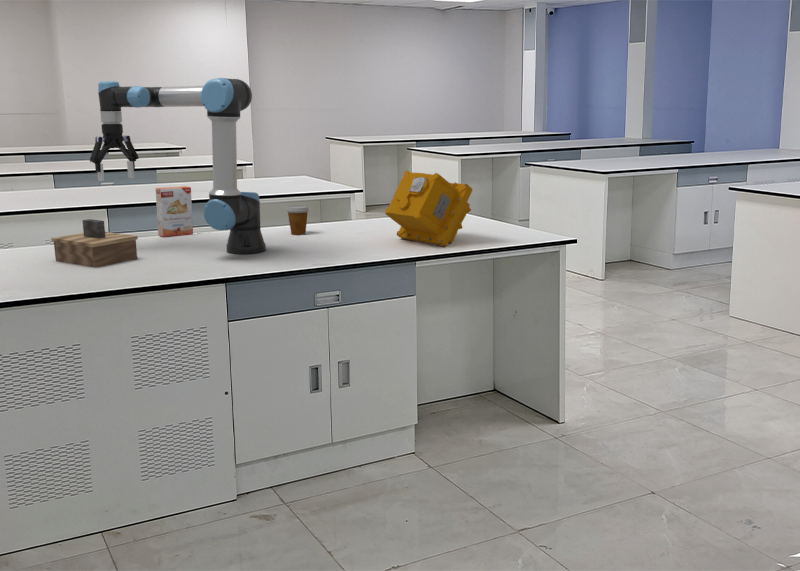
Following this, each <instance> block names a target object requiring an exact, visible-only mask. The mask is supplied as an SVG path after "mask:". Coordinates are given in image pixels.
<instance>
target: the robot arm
mask: <svg viewBox="0 0 800 571" xmlns="http://www.w3.org/2000/svg"><path fill="white" fill-rule="evenodd" d="M97 85H98V90H97V94H98V101H99V108H100V110H99V113H100V122H101V123H102V124H101V133H102V136H95V143H94V146H93V148H92V151H91V154H90V155H91V156H90V158H89V162H90V163H93V164H94V167H95V168H94V170H95V172H96V173H97V181H98V182H104V181H105V175H104V174H105V173H104V164H103V163H102V162H103V159H104V158H105V156H106V155H107V153H108V151H109V150H110V149H119V150H120V152H122V154H123V155H124V156H125V157H126V159H127V161H126V168H127V178H128V179H135V172H134V171H135V168H136V167H135V166H136V165H135V162H136V161H137V160H139V155H138V154H137V151H136V149H135V147H134V146H133V143H132V141H131V136H130V135H123V133H124V129H123V124H122V122H123V117H122V108H166V107H167V108H169V107H174V108H176V107H177V108H178V107H180V108H182V107H185V108H186V107H204V109H205V110H206V116H207V118H208V119H209V121H210V122H211V142H212V143H211V146H212V149H211V150H212V155H211V156H212V189H211V190H210V191H209V192H208V197H209V198H208V201H207V203H206V204H204V206H203V217H204V220H205V222H206V223H207V224H208V225H209V227H211V228H212V229H213V230H216V231H229V234H228V238H227V243H226V246H225V248H226V250H225V251H226V252H227V253H229V254H235V255H236V254H237V255H238V254H239V255H245V254H246V255H249V254H258V253H262V252H265V251H267V246H266V245H267V244H266V242H265V241H264V237H263V233H262V230H261V211H260V210H261V205H260V204H261V201H260V195H259V194H258V193H257V192H252V191H240V190H239V188H238V166H237V165H238V162H237V160H238V157H237V156H238V154H237V153H238V152H237V151H238V150H237V123H238V122H237V121H238V120H240V118H241V112H242V111H244V110H246V109H247V108H248V107H249V106H250V104H251V103H252V99H253V93H252V90H251V88H250V86H249V85H248V84H247V83H246V82H245V81H244V80H241V79H239V78H225V77H216V78H212V79H209V80H208V81H207V82H205V84H204V85H189V86H187V85H186V86H180V85H179V86H141V85H139V86H137V85H135V86H131V85H130V86H120V82H118V81H116V80H113V81H112V80H110V81H108V80H107V81H106V80H103V81H99V82H98V84H97Z"/></svg>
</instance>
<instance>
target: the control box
mask: <svg viewBox="0 0 800 571" xmlns="http://www.w3.org/2000/svg"><path fill="white" fill-rule="evenodd" d="M472 192H473V188H472V187H471V186H470V185H469V184H468V183H458V182H456V181H455V182H449V181H448V180H446V179H445V178H444V177H443V176H441V175H440V174H439V173H437V172H435V173H434V174H432V173H423V172H411V171H409V170H405V171H404V172H403V175H402V178H401V179H400V181H399V184H398V186H397V189H395V192H394V194H393V196H392V199H391V201H390V203H389V206H388V207H386V208H385V212H384V213H385V215H386V216H387V217H388V218H390V219H391V220H392V221H393V222H395V223H396V224H397V225H399V226H400V227H399V230H398V231H397V232H396V236H397V237H399V238H401V240H406V241H407V240H408V241H412V242H416V243H423V244H429V245H433V246H439V247H445V248H446V247H448V244H453V242H454V240H455V239H456V236H457V234H458V232H459V230H462V229H463V225H462V223H463V222H464V219H465V217H466V216H467V214H468V213H469V212H471V211H472V209H471V207H470V206H471V205H470V203H469V202H468V201H469V199H470V197H471V195H472Z"/></svg>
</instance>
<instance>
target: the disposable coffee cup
mask: <svg viewBox="0 0 800 571" xmlns="http://www.w3.org/2000/svg"><path fill="white" fill-rule="evenodd" d="M286 211H287V215H288V222H289V223H288V224H289V227H290V234H291V235H293V236H302V235H306V234H307V233H306V232H307V223H308V222H307V220H308V212H309V208H308V206H307V205H290V206H289V205H288V206H287V208H286Z"/></svg>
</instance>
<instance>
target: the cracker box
mask: <svg viewBox="0 0 800 571" xmlns="http://www.w3.org/2000/svg"><path fill="white" fill-rule="evenodd" d="M155 203H156V204H155V205H156V215H157V216H156V218H157V232H158V233H157V234H158V236H160V237H162V238H168V237H167V236H169V237H177V236H178V237H179V236H185V235H193V234H194V223H193V204H192V203H193V202H192V187H190V186H188V185H187V186H186V185H185V186H166V187H155Z"/></svg>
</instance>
